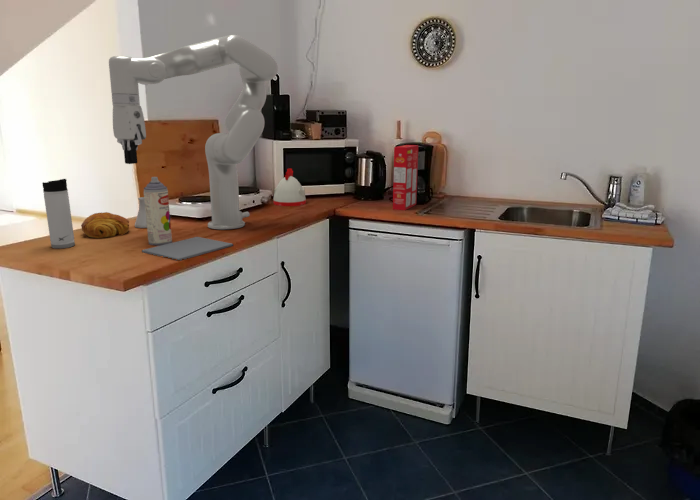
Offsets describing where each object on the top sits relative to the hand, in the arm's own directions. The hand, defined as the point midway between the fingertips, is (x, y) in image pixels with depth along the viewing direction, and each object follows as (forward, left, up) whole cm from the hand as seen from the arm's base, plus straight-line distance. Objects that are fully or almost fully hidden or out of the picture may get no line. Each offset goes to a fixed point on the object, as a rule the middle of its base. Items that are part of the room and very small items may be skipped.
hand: (131, 163), depth 163 cm
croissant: (+2, -15, -24) cm, 28 cm away
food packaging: (-97, +42, -24) cm, 109 cm away
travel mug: (+19, -10, -24) cm, 32 cm away
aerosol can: (0, +10, -24) cm, 26 cm away
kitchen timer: (-76, -3, -24) cm, 80 cm away
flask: (-12, -14, -24) cm, 30 cm away
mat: (0, +23, -24) cm, 33 cm away
